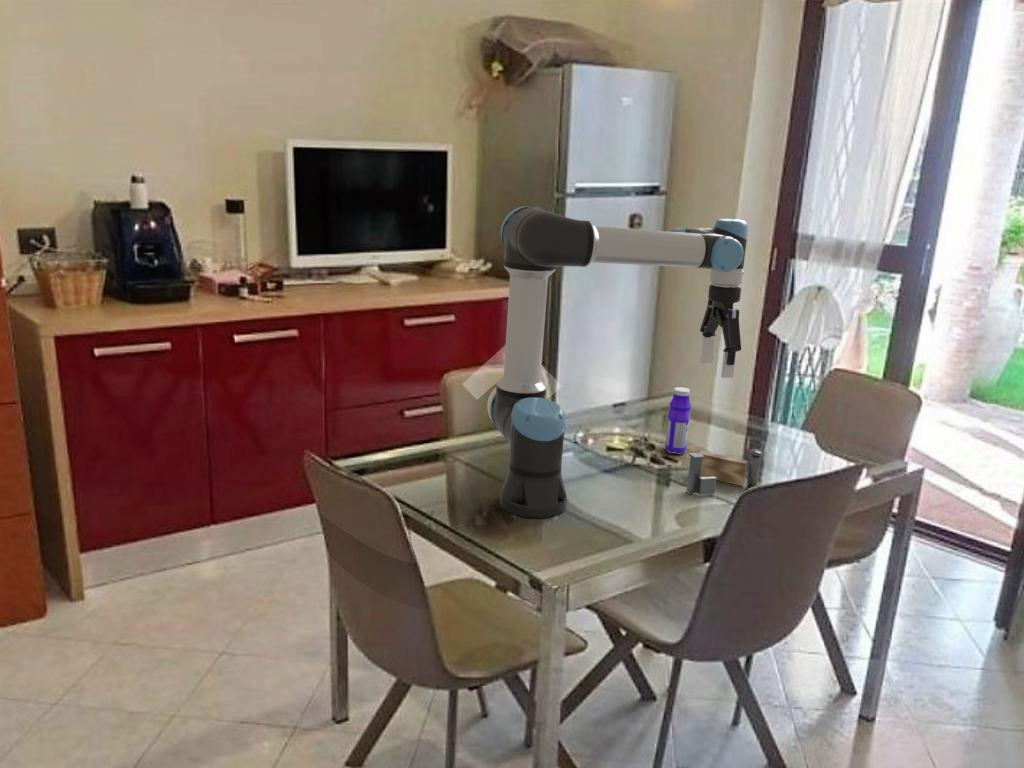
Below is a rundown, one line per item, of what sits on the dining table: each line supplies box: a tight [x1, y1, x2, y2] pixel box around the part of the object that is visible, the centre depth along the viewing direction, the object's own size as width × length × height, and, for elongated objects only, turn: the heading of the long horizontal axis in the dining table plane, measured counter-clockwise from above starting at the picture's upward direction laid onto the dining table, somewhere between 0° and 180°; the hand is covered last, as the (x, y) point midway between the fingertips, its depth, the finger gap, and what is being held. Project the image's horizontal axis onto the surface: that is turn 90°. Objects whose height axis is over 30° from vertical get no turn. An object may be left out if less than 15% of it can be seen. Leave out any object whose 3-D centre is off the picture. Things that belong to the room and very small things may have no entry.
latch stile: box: [686, 452, 718, 496], centre depth 211 cm, size 6×4×10 cm
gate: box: [694, 449, 749, 486], centre depth 220 cm, size 13×2×6 cm, turn 62°
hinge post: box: [746, 448, 764, 489], centre depth 216 cm, size 3×3×10 cm
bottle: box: [664, 386, 692, 454], centre depth 237 cm, size 7×6×17 cm
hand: (716, 369), depth 220 cm, fingers open, 13 cm apart
